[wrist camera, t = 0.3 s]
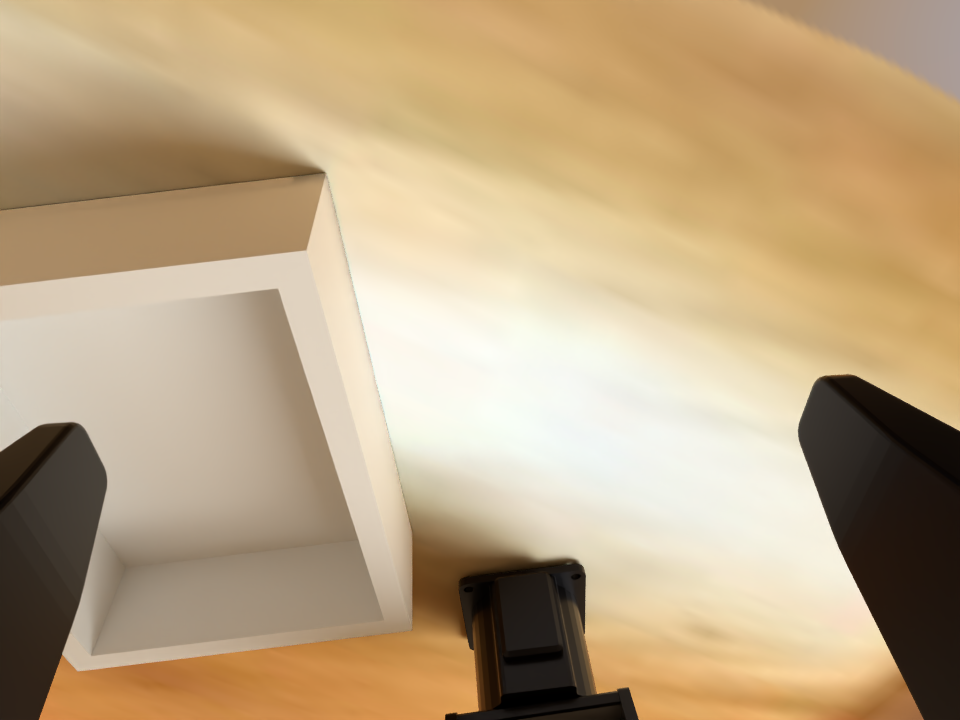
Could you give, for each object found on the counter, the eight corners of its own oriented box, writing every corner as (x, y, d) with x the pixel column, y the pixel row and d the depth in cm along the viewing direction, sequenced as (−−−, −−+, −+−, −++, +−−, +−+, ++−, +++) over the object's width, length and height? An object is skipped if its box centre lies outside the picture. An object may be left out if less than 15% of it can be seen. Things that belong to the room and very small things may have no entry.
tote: (412, 533, 32) (412, 630, 28) (118, 568, 32) (77, 671, 28) (326, 172, 21) (306, 250, 17) (-124, 225, 21) (-248, 315, 17)
